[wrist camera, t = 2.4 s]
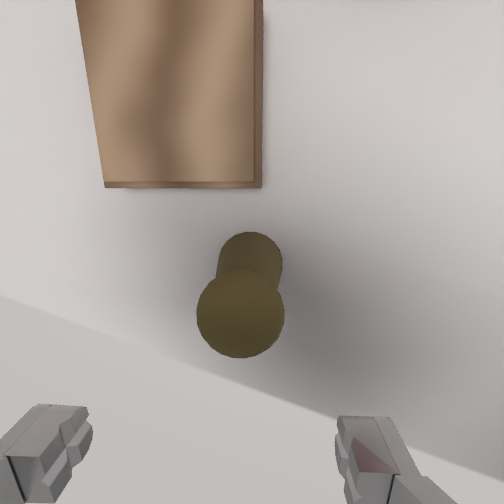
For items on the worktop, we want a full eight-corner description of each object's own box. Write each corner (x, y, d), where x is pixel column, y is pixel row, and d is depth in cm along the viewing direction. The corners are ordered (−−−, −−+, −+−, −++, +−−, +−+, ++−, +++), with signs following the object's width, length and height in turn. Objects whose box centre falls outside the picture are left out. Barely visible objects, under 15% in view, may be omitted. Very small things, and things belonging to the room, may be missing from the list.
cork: (224, 295, 25) (194, 380, 15) (213, 236, 24) (169, 284, 13) (285, 288, 25) (300, 371, 14) (278, 227, 23) (287, 269, 13)
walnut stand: (263, 17, 19) (262, -24, 15) (261, 186, 22) (260, 188, 18) (104, 23, 19) (64, -15, 16) (126, 186, 23) (98, 188, 19)
